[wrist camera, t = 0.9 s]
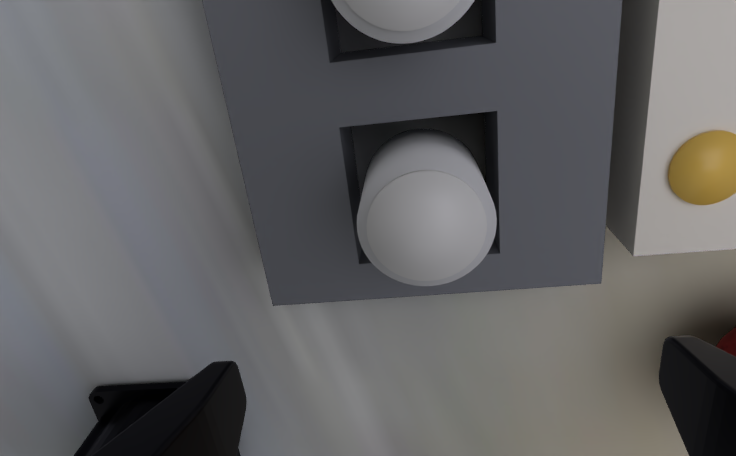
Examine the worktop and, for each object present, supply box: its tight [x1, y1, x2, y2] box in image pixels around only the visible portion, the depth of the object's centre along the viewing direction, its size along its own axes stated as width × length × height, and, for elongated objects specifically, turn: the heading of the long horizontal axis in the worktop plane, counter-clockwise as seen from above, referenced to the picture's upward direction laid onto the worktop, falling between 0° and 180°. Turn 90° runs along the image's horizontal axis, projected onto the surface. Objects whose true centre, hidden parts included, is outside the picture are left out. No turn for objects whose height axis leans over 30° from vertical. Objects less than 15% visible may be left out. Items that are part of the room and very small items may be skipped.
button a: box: [357, 129, 497, 286], centre depth 16 cm, size 4×4×4 cm
